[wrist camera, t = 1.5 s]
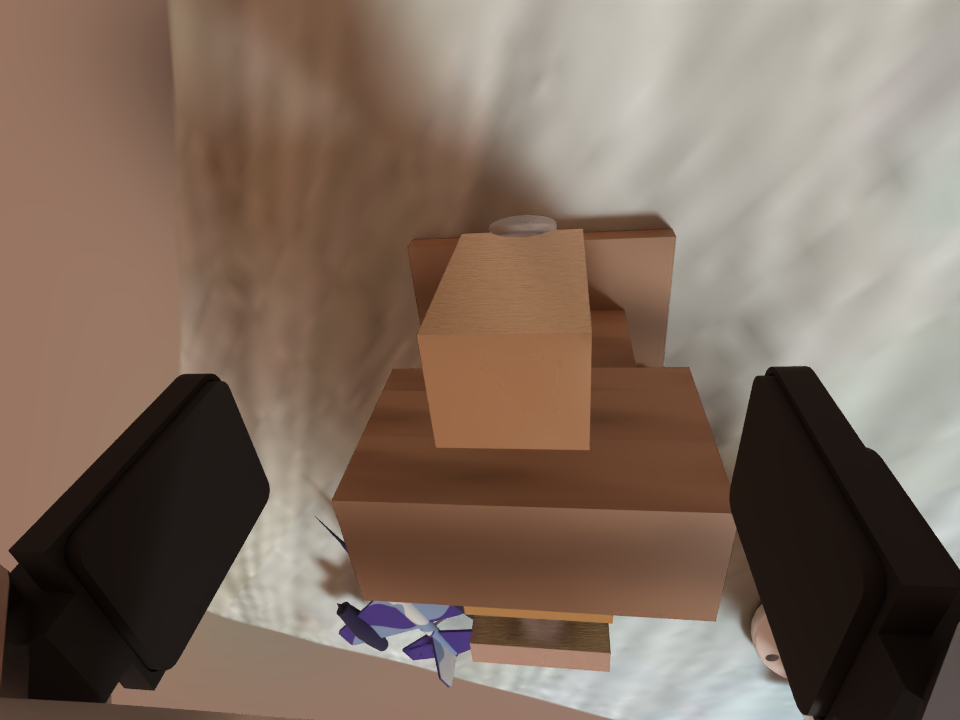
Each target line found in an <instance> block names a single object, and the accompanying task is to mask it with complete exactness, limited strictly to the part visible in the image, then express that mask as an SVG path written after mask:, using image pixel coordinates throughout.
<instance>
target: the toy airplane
mask: <svg viewBox="0 0 960 720" xmlns="http://www.w3.org/2000/svg"><path fill="white" fill-rule="evenodd" d="M315 517H316V516H315ZM316 518H317V517H316ZM317 519H318V518H317ZM318 520H319V519H318ZM319 521H320V520H319ZM320 522H321V521H320ZM321 523H322V522H321ZM322 524H323V523H322ZM323 525H324V524H323ZM324 526H325V525H324ZM325 527H326V528H327V529H328V530H329V532H330V533H331V534H332V535H333V536H334V537H335V538H336V539H337V540H338V541H339V542H340V543H341V545H342V546H343V548H344V549H345V550H346V552H347V553H348V550H347V547H346V544H345V542H344V541H342V540H341V539H340V538H339V537H338V536H336V535H335V534H334V533H333V532H332V531H331V530H330V529H329V528H328V527H327V526H325ZM337 605H338V607H339V608H338V610H337V615H339V616H340V617H341V619H342V620H343V621H344V622H345V624H346V625H345V626H344V627H343V628H342V629H340V631H339V634H340V635H341V636H342V637H343V638H344V639H345V640H347V641H348V642H349V643H350V644H351V645H357V644H361V643H364V642H365V643H366V644H368V645H370V646H371V647H373V648H375V649H377V650H379V651H384V650H386V649H387V647H388V641H387V640H386V638H385V637H387V636H391V635H395V634H399V633H402V632H406V631H410V630H414V629H418V628H420V629H421V630H422V631H423V632H424V633H426V635H425V636H423V637H421V638H420V639H418V640H416V641H415V642H413V643H411V644H410V645H408V646H406V647H405V648H403V650H402V651H403V652H404V653H406V654H407V655H408V656H409V657H410V658H411V659H412V660H419V659H428V658H435V661H436V666H437V671H438V676H439V679H440V680H441V681H442V682H443V683H444V684H445V685H446V686H447V687H451V686H452V680H453V674H454V668H455V662H456V656H458V654H459V653H462V652H465V651H468V650H470V649H471V647H470V639H471V632H472V629H466V630H439V628H438V627H437V626H436V625H437V624H439V623H440V622H441V621H443V620H444V619H446V618H449V617H453V616H457V615H460V614H465V612H464V606H452V605H436V604H419V603H402V602H386V601H371V602H370V603H369V604H368V605H367V606H366V607H365V608H364V609H363V610H361V611H360V610H358V609H357V608H355V607H353V606H352V605H350V604H349V603H348V602H344V603H342V604H338V603H337ZM465 615H466V616H468V617H470V618H471V619H474V615H467V614H465ZM438 620H439V621H438ZM434 621H437V622H436V623H433V622H434Z"/></svg>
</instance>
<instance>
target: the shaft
mask: <svg viewBox="0 0 960 720" xmlns="http://www.w3.org/2000/svg"><path fill="white" fill-rule="evenodd" d="M417 339H418V345H419V351H420V357H421V363H422V369H423V375H424V380H425V386H426V392H427V398H428V404H429V410H430V416H431V422H432V428H433V433H434V439H435V445H436V448H490V449H551V450H590V401H591V351H592V328H591V317H590V305H589V294H588V283H587V271H586V260H585V248H584V237H583V229H563V230H556V222H555V221H554V220H553V219H551V218H549V217H545V216H540V215H518V216H511V217H506V218H503V219H500V220H497V221H495V222H493V223H492V224H491V225H490V226H489V233H471V234H461V237H460V239H459V241H458V243H457V246H456V248H455V250H454V252H453V255H452V257H451V259H450V261H449V264H448V266H447V268H446V270H445V273H444V275H443V277H442V279H441V282H440V284H439V286H438V288H437V291H436V293H435V295H434V298H433V300H432V302H431V304H430V307H429V309H428V311H427V313H426V316H425V318H424V320H423V322H422V325H421V327H420V329H419V331H418V334H417Z"/></svg>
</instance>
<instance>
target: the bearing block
mask: <svg viewBox="0 0 960 720" xmlns="http://www.w3.org/2000/svg"><path fill="white" fill-rule="evenodd" d="M583 237H584V248H585V260H586V271H587V283H588V294H589V305H590V317H591V328H592V351H591V401H590V450H551V449H490V448H436V445H435V439H434V433H433V428H432V422H431V416H430V410H429V404H428V398H427V392H426V386H425V380H424V375H423V369H393V370H392V372H391V375H390V377H389V379H388V381H387V383H386V385H385V387H384V390H383V392H382V394H381V396H380V398H379V400H378V402H377V404H376V407H375V409H374V411H373V413H372V415H371V417H370V419H369V422H368V424H367V426H366V428H365V430H364V432H363V434H362V437H361V439H360V441H359V443H358V445H357V447H356V449H355V452H354V454H353V456H352V458H351V460H350V462H349V464H348V467H347V469H346V471H345V473H344V475H343V477H342V479H341V482H340V484H339V486H338V488H337V490H336V492H335V494H334V497H333V499H332V504H333V507H334V510H335V513H336V516H337V519H338V522H339V525H340V529H341V532H342V535H343V538H344V541H345V544H346V547H347V550H348V554H349V557H350V560H351V563H352V566H353V569H354V572H355V575H356V579H357V582H358V585H359V588H360V591H361V594H362V597H363V600H369V601H386V602H402V603H419V604H436V605H452V606H469V607H485V608H502V609H518V610H535V611H552V612H568V613H585V614H601V615H618V616H635V617H651V618H668V619H684V620H701V621H716V618H717V614H718V609H719V605H720V600H721V596H722V591H723V587H724V582H725V578H726V574H727V569H728V565H729V560H730V556H731V551H732V547H733V542H734V538H735V533H736V529H737V528H736V525H735V522H734V519H733V516H732V513H731V509H730V502H729V493H730V484H729V481H728V478H727V475H726V472H725V469H724V467H723V464H722V461H721V458H720V455H719V452H718V449H717V446H716V444H715V441H714V438H713V435H712V432H711V429H710V426H709V423H708V421H707V418H706V415H705V412H704V409H703V406H702V403H701V400H700V397H699V395H698V392H697V389H696V386H695V383H694V380H693V377H692V374H691V372H690V369H689V367H663V361H664V351H665V341H666V331H667V321H668V312H669V302H670V292H671V282H672V272H673V262H674V252H675V242H676V236H675V233H674V231H673V229H657V230H634V231H610V232H586V233H583ZM459 239H460V238H444V239H420V240H412V241H411V243H410V245H409V246H408V252H409V258H410V264H411V271H412V277H413V283H414V289H415V295H416V301H417V307H418V313H419V319H420V325H422V322H423V320H424V318H425V316H426V313H427V311H428V309H429V307H430V304H431V302H432V300H433V298H434V295H435V293H436V291H437V288H438V286H439V284H440V282H441V279H442V277H443V275H444V273H445V270H446V268H447V266H448V264H449V261H450V259H451V257H452V255H453V252H454V250H455V248H456V246H457V243H458V241H459Z"/></svg>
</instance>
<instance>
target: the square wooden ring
mask: <svg viewBox="0 0 960 720" xmlns="http://www.w3.org/2000/svg"><path fill="white" fill-rule="evenodd" d="M470 647H471V653H472V659H473V661H474V662H487V663H500V664H514V665H527V666H540V667H553V668H566V669H580V670H593V671H606V672H609V671H610V655H611V652H610V638H609V625H608V623H598V622H581V621H565V620H548V619H532V618H516V617H499V616H483V615H474V619H473V625H472V632H471V639H470Z"/></svg>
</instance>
